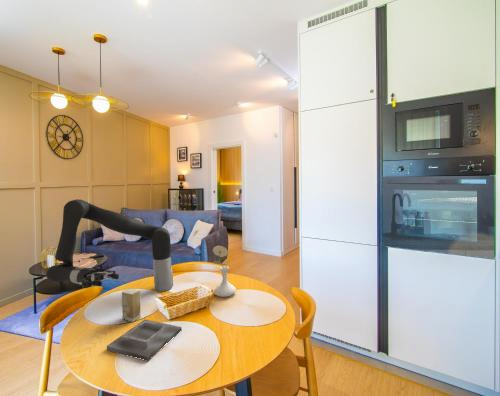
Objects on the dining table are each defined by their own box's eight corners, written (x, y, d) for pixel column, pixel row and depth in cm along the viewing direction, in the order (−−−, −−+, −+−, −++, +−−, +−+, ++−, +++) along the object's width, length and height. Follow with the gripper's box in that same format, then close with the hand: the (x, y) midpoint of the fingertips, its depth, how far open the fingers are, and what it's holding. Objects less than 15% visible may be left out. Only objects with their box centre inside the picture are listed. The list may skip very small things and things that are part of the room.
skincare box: (122, 319, 108) (120, 291, 107) (130, 314, 112) (128, 287, 111) (133, 322, 106) (132, 293, 105) (141, 317, 110) (140, 289, 109)
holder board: (145, 322, 105) (144, 314, 105) (181, 330, 99) (181, 321, 99) (106, 350, 88) (106, 340, 88) (148, 361, 82) (147, 351, 82)
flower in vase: (240, 292, 132) (239, 244, 131) (227, 300, 123) (225, 250, 121) (221, 287, 139) (219, 242, 138) (207, 295, 130) (205, 247, 128)
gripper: (67, 273, 110) (94, 277, 105) (97, 263, 124) (122, 266, 118) (68, 289, 111) (95, 295, 105) (98, 278, 124) (123, 282, 119)
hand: (110, 280), depth 112 cm, fingers open, 8 cm apart
